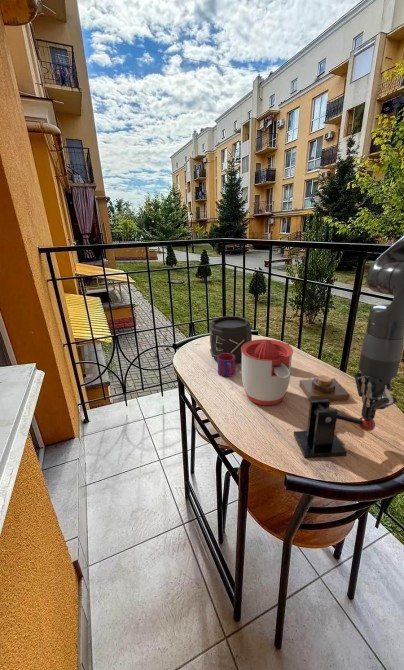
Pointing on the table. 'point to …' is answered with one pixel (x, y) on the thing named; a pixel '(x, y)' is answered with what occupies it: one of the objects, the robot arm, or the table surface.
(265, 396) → the citrus juicer
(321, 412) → the black bracket
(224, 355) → the mug
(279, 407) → the table surface
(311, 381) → the block
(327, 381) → the button
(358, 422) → the red-knob lever
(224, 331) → the dark grey cylinder
